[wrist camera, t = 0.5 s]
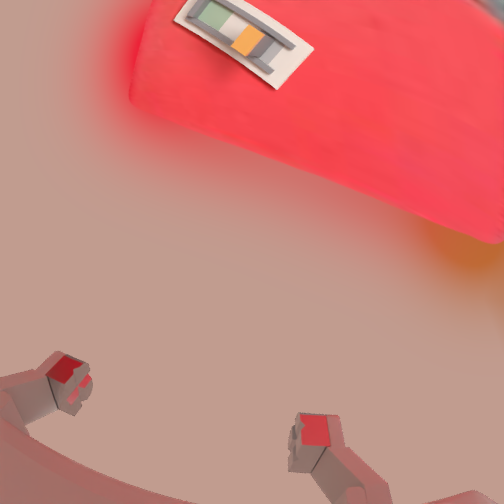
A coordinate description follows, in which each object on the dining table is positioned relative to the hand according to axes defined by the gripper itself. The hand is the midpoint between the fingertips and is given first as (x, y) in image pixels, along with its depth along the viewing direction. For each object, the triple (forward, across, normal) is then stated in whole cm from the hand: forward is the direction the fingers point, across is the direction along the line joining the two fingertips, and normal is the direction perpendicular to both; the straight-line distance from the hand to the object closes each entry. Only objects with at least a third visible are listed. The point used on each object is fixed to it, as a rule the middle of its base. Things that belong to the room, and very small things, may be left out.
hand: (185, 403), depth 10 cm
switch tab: (+41, +4, -29) cm, 51 cm away
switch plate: (+42, +8, -33) cm, 54 cm away
